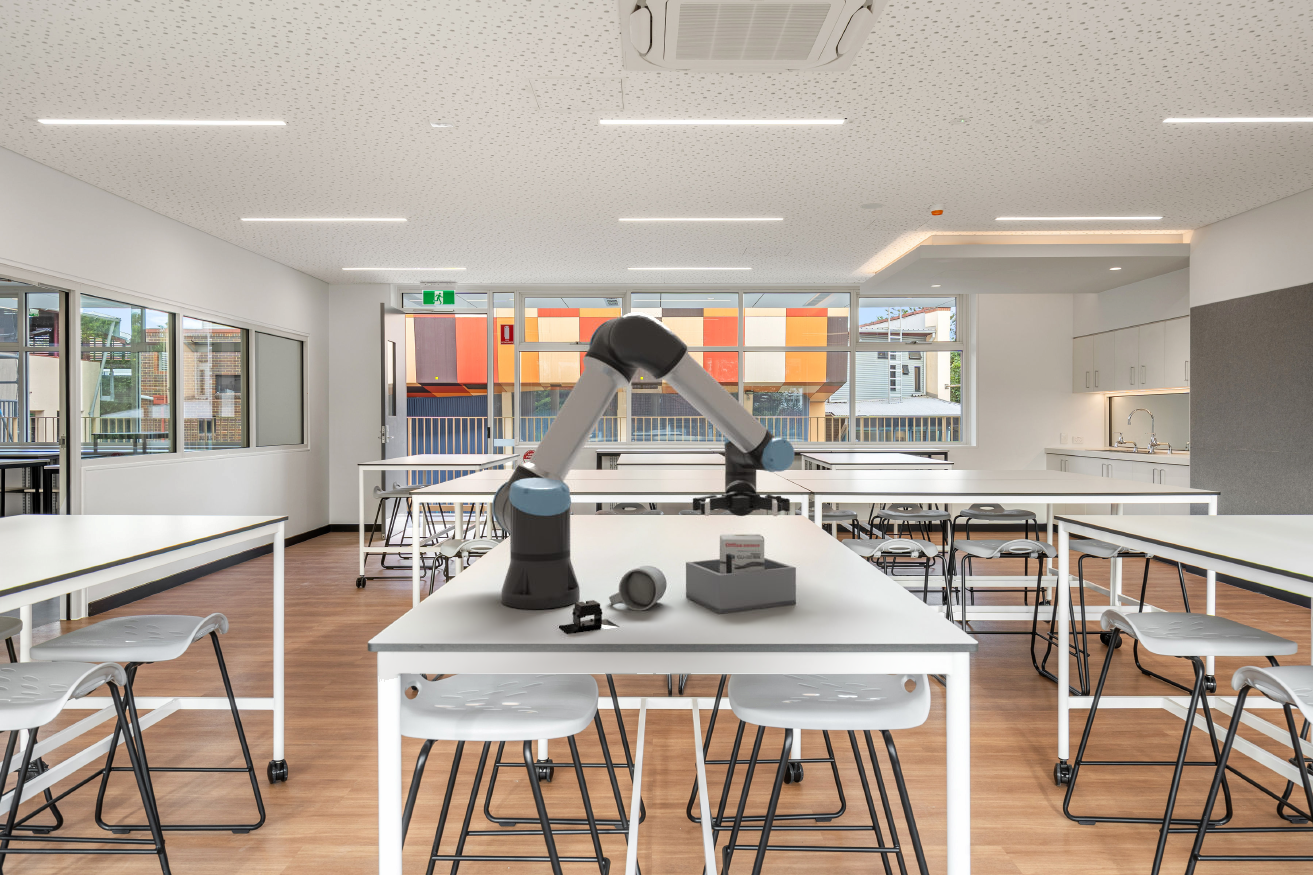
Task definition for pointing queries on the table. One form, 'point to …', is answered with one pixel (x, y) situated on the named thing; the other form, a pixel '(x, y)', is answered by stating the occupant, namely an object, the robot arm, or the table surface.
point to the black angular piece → (587, 625)
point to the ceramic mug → (641, 588)
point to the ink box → (741, 553)
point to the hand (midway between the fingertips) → (740, 509)
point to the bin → (740, 586)
